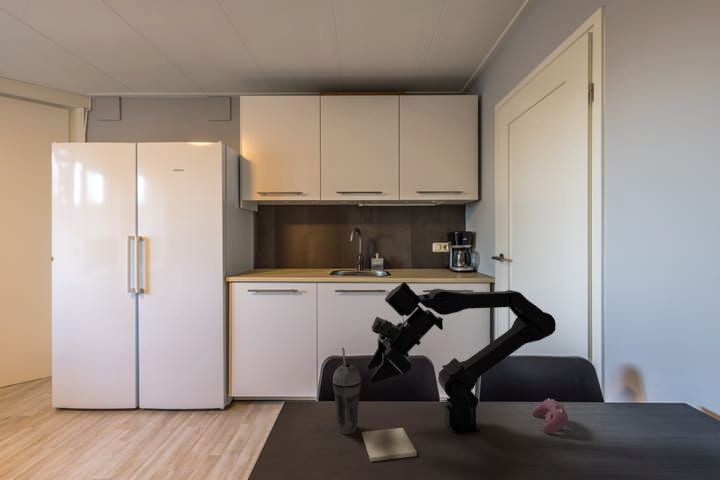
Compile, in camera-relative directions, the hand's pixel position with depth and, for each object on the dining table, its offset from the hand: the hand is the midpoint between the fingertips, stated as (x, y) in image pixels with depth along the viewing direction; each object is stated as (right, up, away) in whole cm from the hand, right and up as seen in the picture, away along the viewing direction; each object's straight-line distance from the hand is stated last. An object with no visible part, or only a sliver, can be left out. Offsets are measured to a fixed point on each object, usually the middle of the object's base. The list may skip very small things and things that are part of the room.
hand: (369, 374), depth 83 cm
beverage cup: (-5, -13, -1) cm, 14 cm away
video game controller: (+45, -13, 0) cm, 47 cm away
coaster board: (+4, -13, -8) cm, 15 cm away
